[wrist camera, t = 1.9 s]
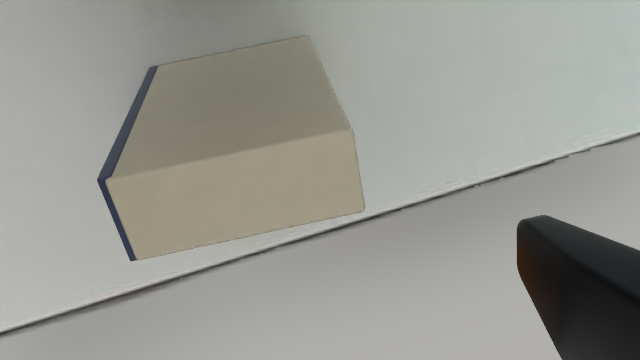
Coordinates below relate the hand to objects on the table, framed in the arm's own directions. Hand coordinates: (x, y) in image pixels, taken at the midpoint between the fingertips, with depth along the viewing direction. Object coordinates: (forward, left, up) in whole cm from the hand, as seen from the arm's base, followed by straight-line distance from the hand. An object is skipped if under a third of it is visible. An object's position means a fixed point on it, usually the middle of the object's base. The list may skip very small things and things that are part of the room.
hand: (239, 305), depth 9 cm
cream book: (0, 0, -11) cm, 11 cm away
